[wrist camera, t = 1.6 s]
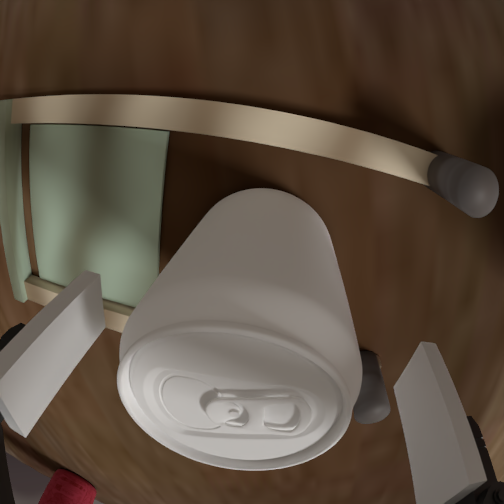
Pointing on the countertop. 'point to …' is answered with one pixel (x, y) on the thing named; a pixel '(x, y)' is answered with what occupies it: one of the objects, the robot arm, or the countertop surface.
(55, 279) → the bay
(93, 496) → the wine bottle
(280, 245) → the beverage can
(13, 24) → the countertop surface
